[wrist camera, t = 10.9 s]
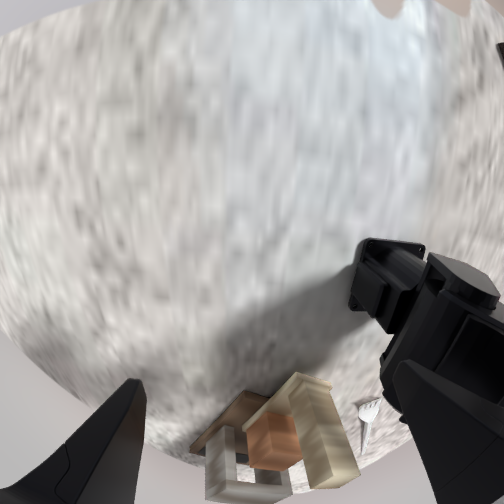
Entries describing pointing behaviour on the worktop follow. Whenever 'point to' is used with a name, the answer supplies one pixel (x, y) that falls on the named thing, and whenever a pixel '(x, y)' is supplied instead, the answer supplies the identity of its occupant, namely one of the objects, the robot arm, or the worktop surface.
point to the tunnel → (237, 458)
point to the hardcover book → (501, 48)
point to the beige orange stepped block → (302, 434)
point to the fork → (368, 419)
